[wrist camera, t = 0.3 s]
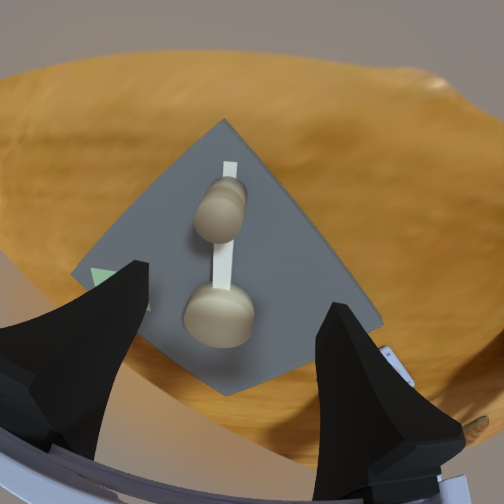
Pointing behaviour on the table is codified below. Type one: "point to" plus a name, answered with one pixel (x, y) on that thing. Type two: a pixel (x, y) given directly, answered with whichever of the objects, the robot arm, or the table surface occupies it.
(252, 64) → the table surface
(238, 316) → the crank handle
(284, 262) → the dial board
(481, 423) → the pastry
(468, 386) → the table surface
